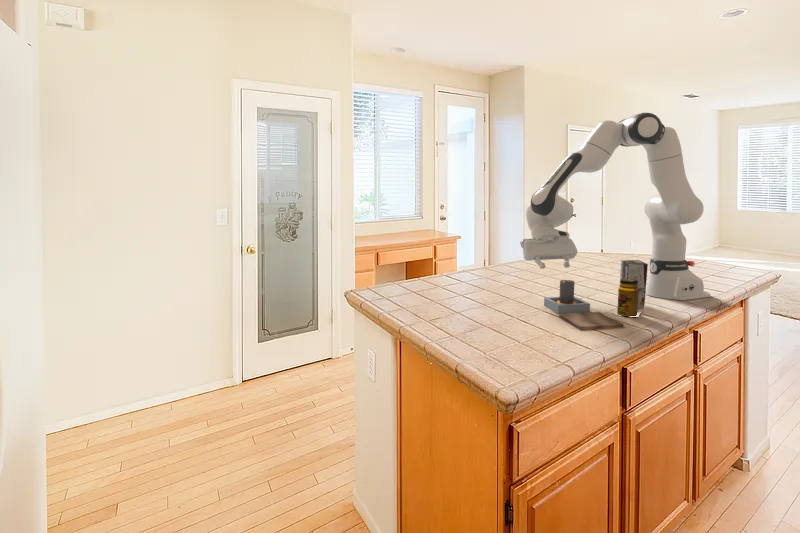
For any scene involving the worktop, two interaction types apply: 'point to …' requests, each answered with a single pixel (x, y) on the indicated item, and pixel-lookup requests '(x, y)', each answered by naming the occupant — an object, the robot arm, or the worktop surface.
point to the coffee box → (636, 277)
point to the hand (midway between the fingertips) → (555, 267)
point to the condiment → (628, 297)
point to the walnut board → (590, 320)
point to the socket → (566, 306)
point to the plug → (566, 292)
